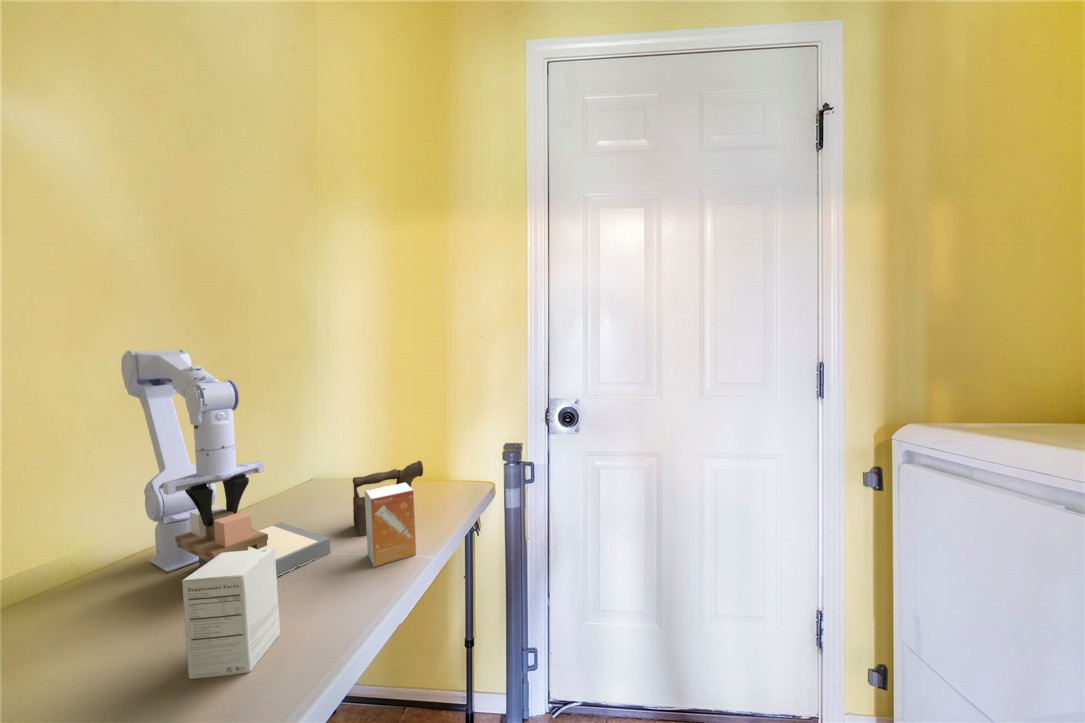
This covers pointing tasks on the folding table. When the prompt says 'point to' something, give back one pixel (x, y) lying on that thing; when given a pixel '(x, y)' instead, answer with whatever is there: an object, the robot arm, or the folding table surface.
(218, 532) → the block
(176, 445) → the robot arm
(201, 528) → the block
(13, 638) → the folding table surface
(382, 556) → the small box
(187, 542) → the pallet
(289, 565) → the dock
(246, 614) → the supplement box
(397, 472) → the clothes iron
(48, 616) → the folding table surface
